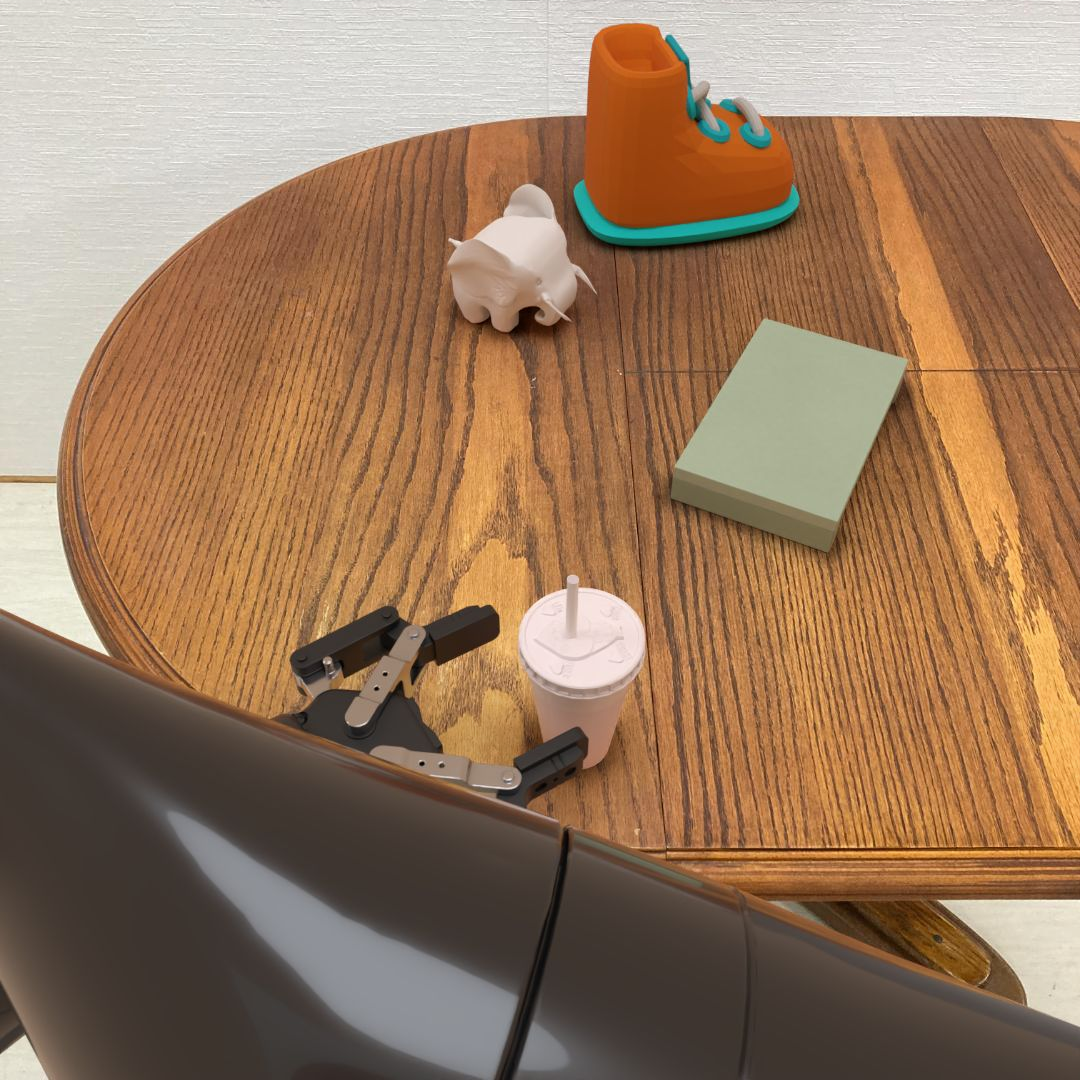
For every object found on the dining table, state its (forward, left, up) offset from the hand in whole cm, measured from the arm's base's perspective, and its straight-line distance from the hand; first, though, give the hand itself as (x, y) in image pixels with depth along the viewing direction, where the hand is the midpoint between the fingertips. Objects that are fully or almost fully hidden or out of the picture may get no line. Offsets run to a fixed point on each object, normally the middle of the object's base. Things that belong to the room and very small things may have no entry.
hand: (538, 677), depth 55 cm
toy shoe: (+41, -40, -8) cm, 58 cm away
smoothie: (0, -3, -8) cm, 9 cm away
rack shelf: (+13, -29, -8) cm, 32 cm away
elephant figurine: (+36, -20, -8) cm, 42 cm away
